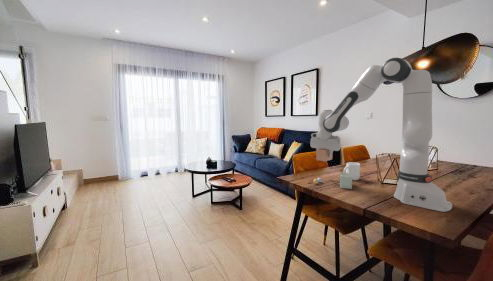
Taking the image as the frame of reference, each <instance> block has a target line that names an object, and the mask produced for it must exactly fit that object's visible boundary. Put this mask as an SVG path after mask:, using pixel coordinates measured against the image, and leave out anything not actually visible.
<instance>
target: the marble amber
mask: <svg viewBox="0 0 493 281" xmlns="http://www.w3.org/2000/svg"><path fill="white" fill-rule="evenodd" d="M317 179H318V178H314V179H313V183H314V184H315V185H317V184H318V183H319V182H318V180H317Z"/></svg>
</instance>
